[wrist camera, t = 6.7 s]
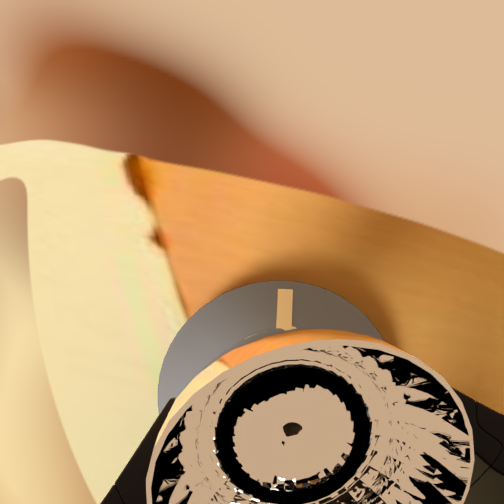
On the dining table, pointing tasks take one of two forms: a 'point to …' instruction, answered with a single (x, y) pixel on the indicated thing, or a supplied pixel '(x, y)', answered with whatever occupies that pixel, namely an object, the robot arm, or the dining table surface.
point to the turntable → (251, 325)
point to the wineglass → (313, 426)
